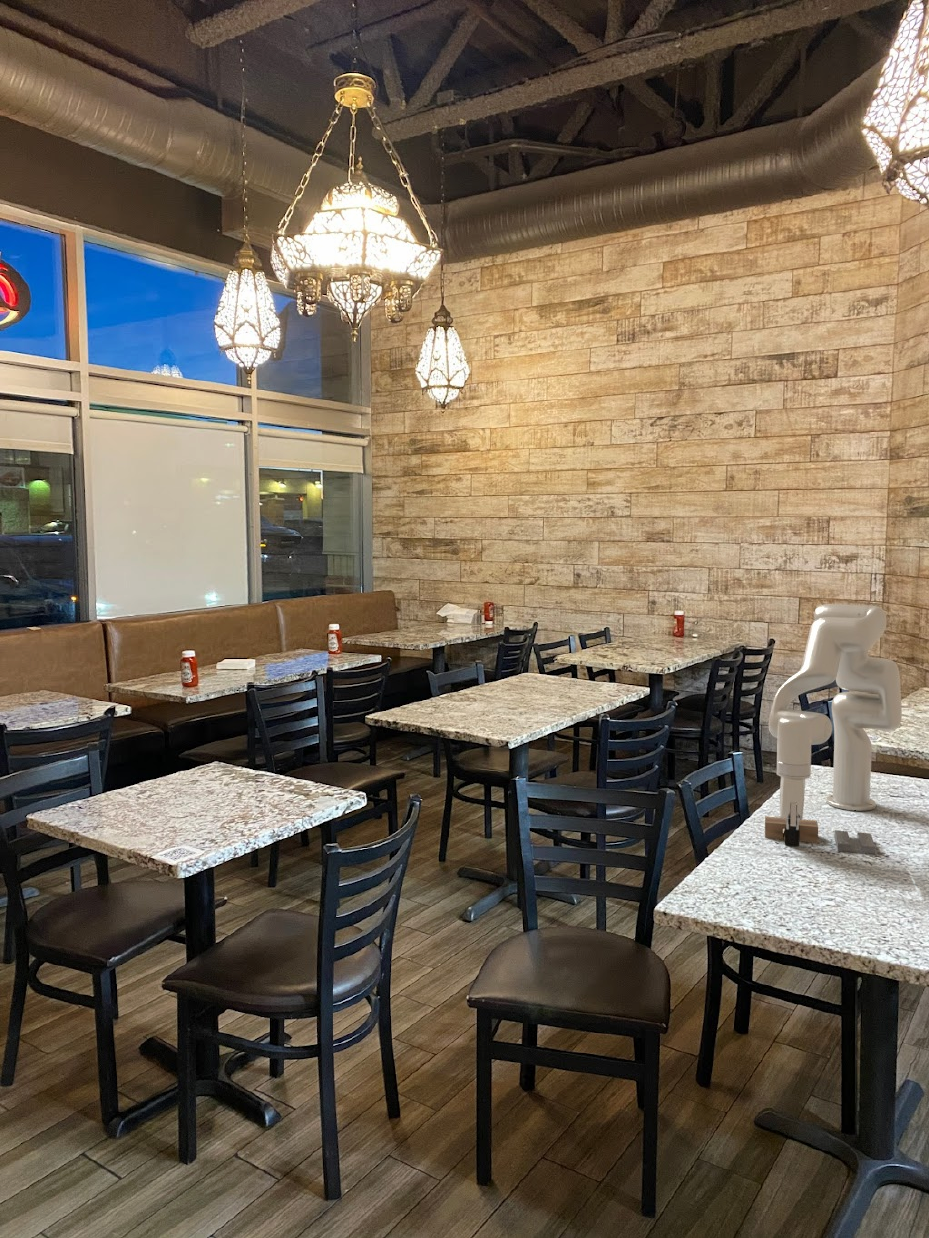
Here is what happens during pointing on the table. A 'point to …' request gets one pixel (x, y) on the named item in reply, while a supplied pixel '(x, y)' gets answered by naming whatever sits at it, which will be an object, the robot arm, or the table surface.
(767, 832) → the walnut beam
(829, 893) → the table surface
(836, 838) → the iron V-block
